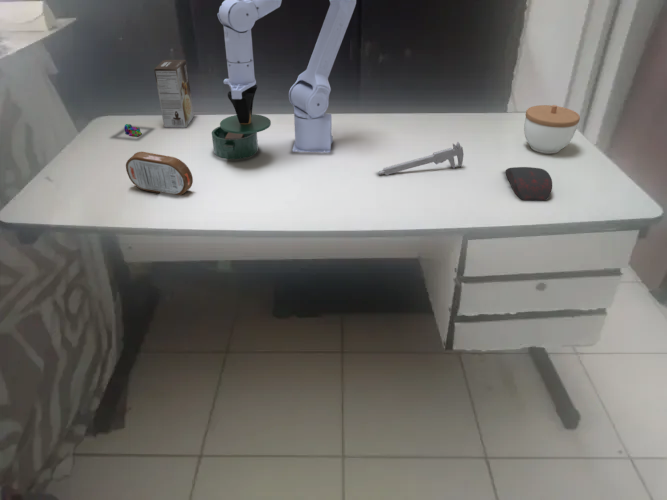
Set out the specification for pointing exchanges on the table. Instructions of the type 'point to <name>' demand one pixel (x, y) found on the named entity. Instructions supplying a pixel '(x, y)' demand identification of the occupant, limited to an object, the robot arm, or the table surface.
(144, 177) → the tin
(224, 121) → the lid
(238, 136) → the block
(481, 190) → the table surface
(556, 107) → the lidded bowl
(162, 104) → the coffee box
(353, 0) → the robot arm
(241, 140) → the pot
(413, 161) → the caliper
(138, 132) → the thin white board
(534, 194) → the computer mouse
